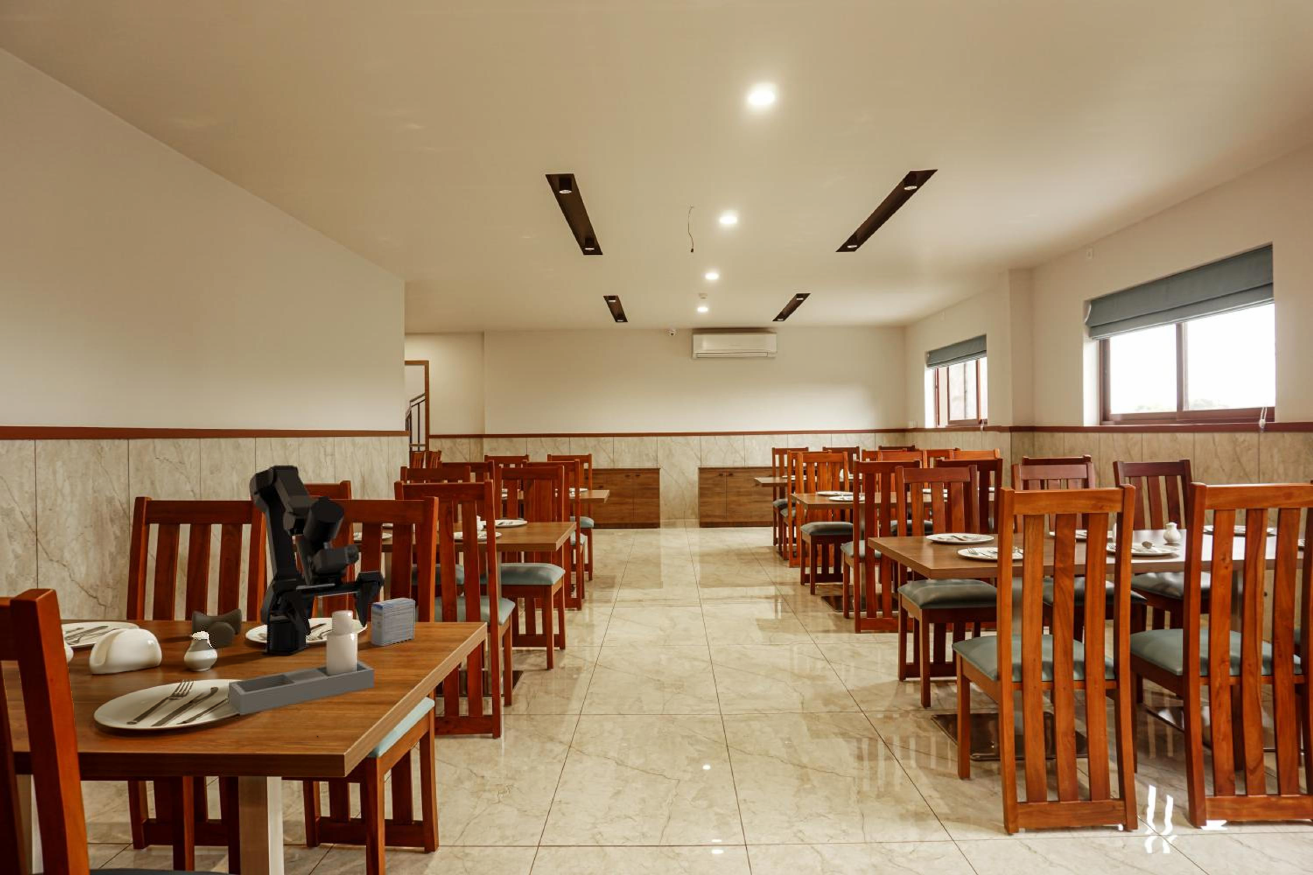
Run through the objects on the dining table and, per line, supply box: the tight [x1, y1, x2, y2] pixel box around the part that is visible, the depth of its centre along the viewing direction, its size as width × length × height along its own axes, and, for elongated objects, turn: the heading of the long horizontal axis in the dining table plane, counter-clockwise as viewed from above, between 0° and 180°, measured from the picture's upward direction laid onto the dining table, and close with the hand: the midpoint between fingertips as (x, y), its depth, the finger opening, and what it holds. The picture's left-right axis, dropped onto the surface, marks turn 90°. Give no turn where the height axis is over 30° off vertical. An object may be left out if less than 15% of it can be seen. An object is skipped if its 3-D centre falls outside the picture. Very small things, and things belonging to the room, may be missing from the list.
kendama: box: [190, 608, 243, 649], centre depth 158 cm, size 6×10×20 cm
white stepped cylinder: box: [325, 610, 358, 677], centre depth 123 cm, size 5×5×12 cm
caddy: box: [228, 659, 375, 716], centre depth 119 cm, size 8×20×4 cm, turn 132°
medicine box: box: [370, 597, 416, 647], centre depth 156 cm, size 8×4×9 cm, turn 144°
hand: (337, 629), depth 125 cm, fingers open, 9 cm apart
